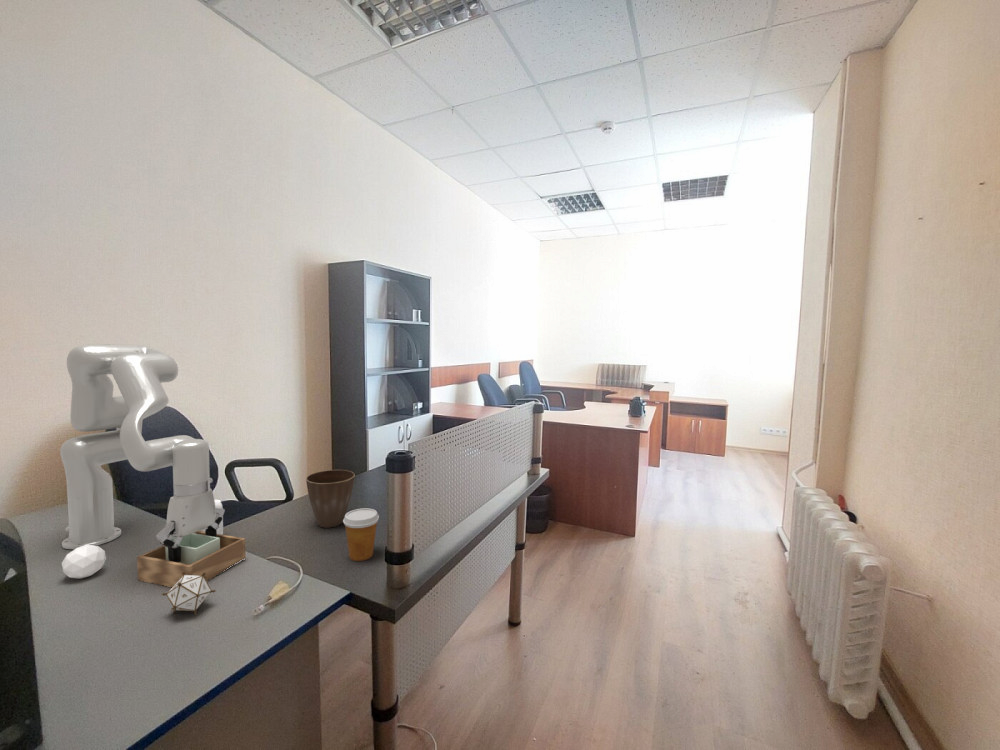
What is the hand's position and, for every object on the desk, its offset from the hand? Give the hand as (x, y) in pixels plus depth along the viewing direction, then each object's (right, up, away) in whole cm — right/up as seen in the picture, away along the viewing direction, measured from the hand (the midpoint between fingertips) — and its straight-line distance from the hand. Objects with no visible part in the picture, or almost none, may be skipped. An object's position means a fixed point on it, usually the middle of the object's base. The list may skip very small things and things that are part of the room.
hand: (193, 552), depth 108 cm
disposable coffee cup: (+41, -5, +9) cm, 42 cm away
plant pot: (+23, -3, +30) cm, 38 cm away
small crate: (0, -4, 0) cm, 4 cm away
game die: (+11, -6, -16) cm, 20 cm away
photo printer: (-9, -4, +16) cm, 19 cm away
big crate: (0, -5, 0) cm, 5 cm away
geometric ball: (-25, -5, -3) cm, 26 cm away
